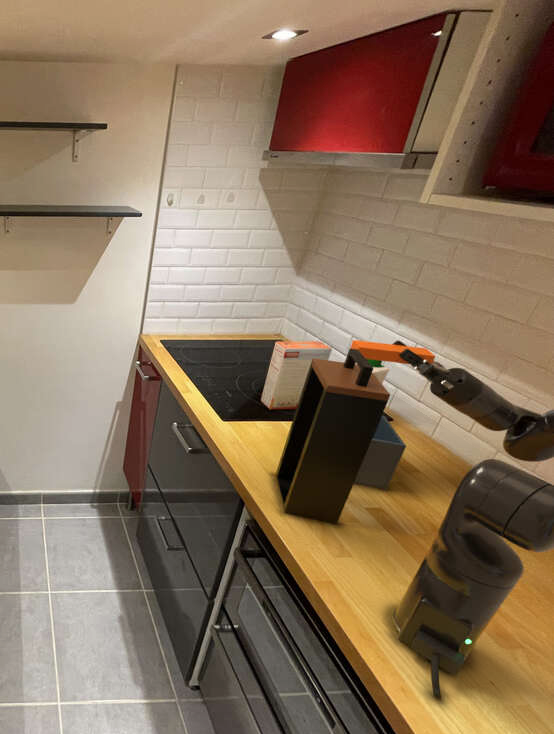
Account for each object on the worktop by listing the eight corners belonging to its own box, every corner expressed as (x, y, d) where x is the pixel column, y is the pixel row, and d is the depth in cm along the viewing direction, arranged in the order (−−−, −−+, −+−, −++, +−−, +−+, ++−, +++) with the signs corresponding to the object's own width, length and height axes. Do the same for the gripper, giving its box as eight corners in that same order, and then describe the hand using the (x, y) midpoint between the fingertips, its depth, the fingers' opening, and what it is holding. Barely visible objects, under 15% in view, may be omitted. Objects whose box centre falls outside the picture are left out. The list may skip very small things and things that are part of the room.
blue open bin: (367, 456, 117) (384, 415, 111) (386, 489, 105) (406, 446, 100) (309, 445, 121) (323, 405, 115) (321, 476, 109) (337, 433, 104)
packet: (421, 358, 100) (426, 348, 99) (430, 367, 96) (435, 356, 95) (349, 350, 104) (353, 339, 103) (355, 357, 101) (359, 346, 100)
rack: (321, 485, 106) (373, 348, 91) (336, 524, 95) (398, 375, 80) (275, 475, 109) (317, 341, 94) (284, 512, 98) (334, 366, 83)
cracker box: (301, 400, 143) (320, 340, 134) (313, 410, 138) (334, 348, 129) (258, 400, 142) (275, 340, 134) (269, 410, 137) (286, 348, 128)
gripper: (464, 367, 102) (401, 324, 103) (501, 397, 90) (429, 347, 91) (433, 389, 106) (372, 347, 107) (464, 420, 94) (395, 373, 95)
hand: (398, 348), depth 99 cm, fingers closed on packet, 4 cm apart
